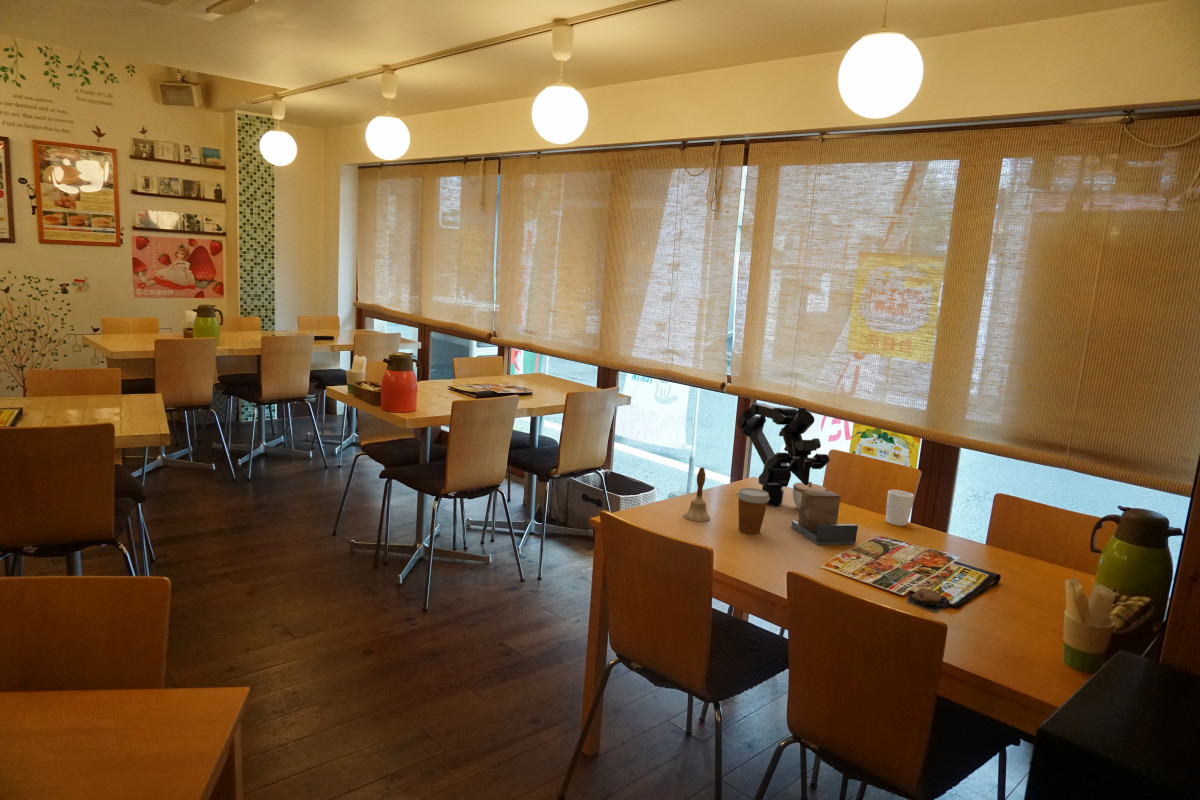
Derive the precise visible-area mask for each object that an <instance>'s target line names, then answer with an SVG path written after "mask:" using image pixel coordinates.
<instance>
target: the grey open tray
mask: <svg viewBox="0 0 1200 800" xmlns="http://www.w3.org/2000/svg"><path fill="white" fill-rule="evenodd" d="M790 527H791V529H793V530H794V531H796V532H797V533H799V534H800V535H801V536H803V537H805V538H806V539H808V540H809V541H811V542H812V543H814V544H815V545H817V546H830V545H831V546H835V545H836V546H841V545H856V542H857V541H856V540H857V535H858V534H857V533H858V527H859V525H858V524H856V523H837V524H818V526H817V531H810V530H809V529H807V528H806V527H804V526H803V525H801V524H799V523H798V521H796V520H792V521H791V526H790Z"/></svg>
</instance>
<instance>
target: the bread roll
mask: <svg viewBox="0 0 1200 800" xmlns="http://www.w3.org/2000/svg"><path fill="white" fill-rule="evenodd" d="M905 603H906V604H909V605H910V606H913V607H917V608H919V609H921V610H925V611H927V612H931V613H932V614H933V613H934V614H935V613H939V612H941V611H943V610H944V609H946V608H947V607H949V606H950V604H951V601H950V600H949V599H948V598H947V596H945V595H944V596H943V595H940V593H938V592H936V591H935V590H933V589H930V588H919V589H917V590H916V591H915V592H914V593H913V594H911V593H910V594H908V595H907V600H905Z"/></svg>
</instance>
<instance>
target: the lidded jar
mask: <svg viewBox="0 0 1200 800" xmlns="http://www.w3.org/2000/svg"><path fill="white" fill-rule="evenodd" d="M792 488H793V489H792V499H793V502H794V504H795V506H796V507H797V509H798V510H800V506H801V499H802V491H827V488H826V487H824V486H823V485H819V484H815V483H813V482H812V481H809V484H808V485H804V484H803V483H802V482H801V481H800V482H795V483H794V484H793V486H792Z"/></svg>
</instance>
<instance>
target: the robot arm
mask: <svg viewBox="0 0 1200 800" xmlns="http://www.w3.org/2000/svg"><path fill="white" fill-rule="evenodd" d="M766 418H768V419H771V420H772V422H773V423H775V424H776V425H779V426H781V425H782V426H783V427H781V429H780V431H779V434H778V436H779V437H783V441H784V444H785V447H784V448H783V450H784V452H778V451H777V452H776V453H775V452H774V449H773V447H772V446H771V445H770V444H771V443H770V442H769V441H768V439H767V437H766V435H765V433H764V432H763V430H764V426H765V423H766V421H767V419H766ZM814 423H815V416H814V415H813V413H811V412H810V411H808V410H807V409H806V408H805V407H798V409H797V408H795V407H779V406H778V407H775V406H773V405H769V404H766V403H762V402H761V403H757V402H755V403H752V405H751V406H750V407H749V408H748V409H746V410H745V411H743V412H742V413H741V414H740V417H739V418H738V420H737V427H738V429H739V431H740V432H741V433H742V434H743V435H744V436H746V437H747V438H750V441H751V442H752V445H753V446H754V449H756V453H757V454H758V456H759V457H760V460H761V462H762V464H763V465H764V466H763V469H762V473H760V474H759V476H758V484H759V485H762V489H761V490H763V491H766V492H768V494H769V498H770V499H769V501H768V503H767V505H770V506H775V507H779V506H780V505H781V504H782V503H783V502H784V494H785V491H784V490H783V488H785V487H786V488H787V487H788V486H789V482H790V480H791V477H792V474H793V475H794V476H795V477H797V479H798V480H799V481H800V483H801V482H802V483H803V484H804V485H808V484H809V482H810V472H811V469H812V470H822V469H823V468H824V467H826V465H827V464H828V463H830V461H831V459H830V457H829V455H828V454H827V453H815V455H813V456H812V457H809V456H810V455H812V452H814V451H816V452H817V450H819V449H820V448H821V446H822V443H821V441H820V439H819V438H816V437H814V438H812V439H803V437H802V435H803V434H805V433H806V432H807V431H808V429H810V428H811V426H813V424H814Z"/></svg>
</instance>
